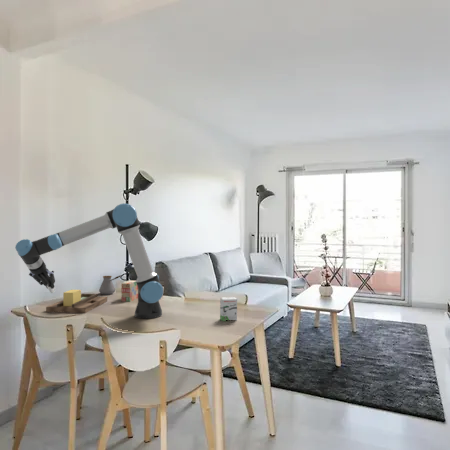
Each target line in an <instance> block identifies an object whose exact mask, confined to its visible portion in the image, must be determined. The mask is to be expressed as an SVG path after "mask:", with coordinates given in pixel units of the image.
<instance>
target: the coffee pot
mask: <svg viewBox="0 0 450 450" xmlns="http://www.w3.org/2000/svg"><path fill="white" fill-rule="evenodd" d="M112 277H113V276H112V275H103V276H102V278H103V279H102V282H101V285H100V287H99V288H98V289H99V290H98V292H99V293H100V294H101V295H105V296H106V295H113V294H114V293H115V292H116V287H115V285H114V284H113V281H114V280H117V279H119V278H123V277H124V276H123V274H121V275H118V276H115V277H113V278H112Z"/></svg>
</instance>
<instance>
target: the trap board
mask: <svg viewBox="0 0 450 450" xmlns="http://www.w3.org/2000/svg"><path fill="white" fill-rule="evenodd" d="M106 302H108V296H98V293H81V301H78V302H76V303H74V304H72V306H63V299H62V300H60V301H57V302H55V303H52V304H50V305H47V306H45V312H46V313H66V314H67V313H68V314H69V313H73V314H76V313H77V314H86V313H88V312H90V311H92V310H94V309H96V308H98V307H99V306H101V305H104V304H105V303H106Z"/></svg>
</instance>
